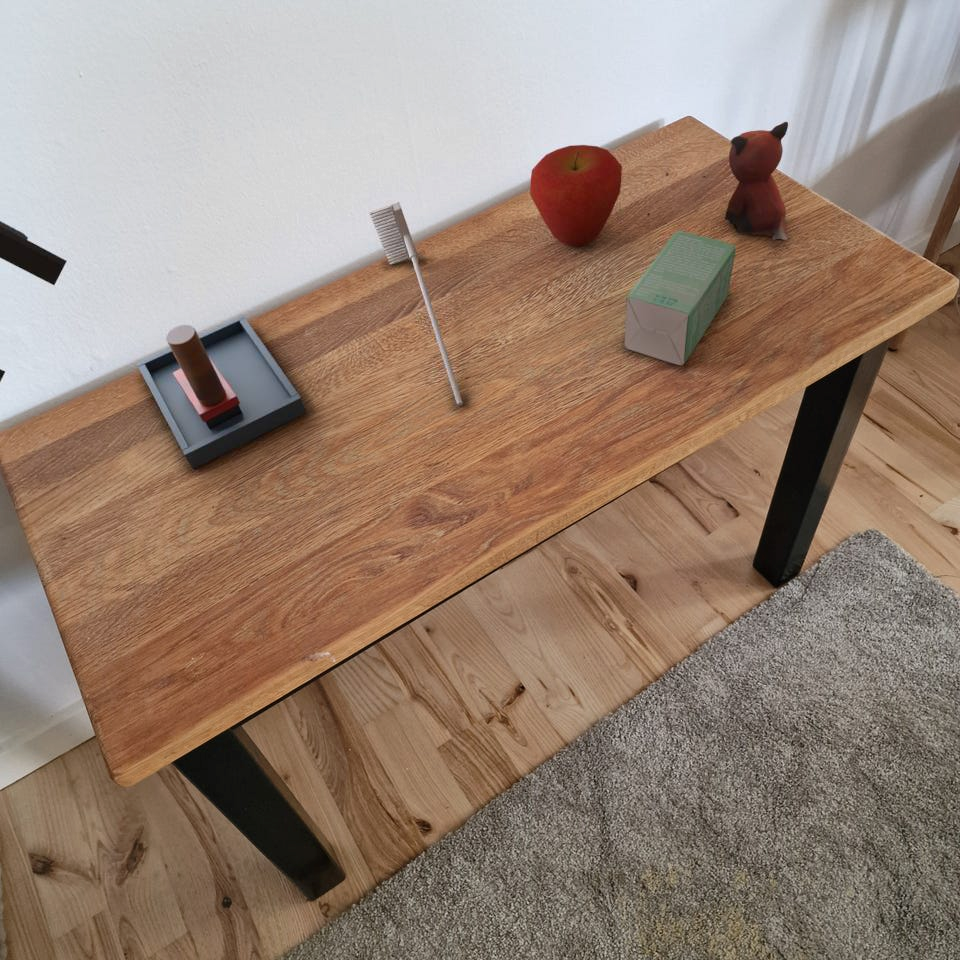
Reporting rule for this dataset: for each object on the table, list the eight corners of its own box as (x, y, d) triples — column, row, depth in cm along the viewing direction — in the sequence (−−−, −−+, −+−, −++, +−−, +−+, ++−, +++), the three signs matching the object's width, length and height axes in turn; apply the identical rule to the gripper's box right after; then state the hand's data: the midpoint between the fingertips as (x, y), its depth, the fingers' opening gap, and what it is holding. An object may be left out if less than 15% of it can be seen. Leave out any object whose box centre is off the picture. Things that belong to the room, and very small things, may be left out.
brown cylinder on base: (244, 413, 92) (206, 333, 83) (208, 431, 90) (165, 353, 81) (216, 372, 96) (177, 292, 87) (181, 389, 95) (138, 310, 86)
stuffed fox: (762, 261, 100) (780, 171, 90) (704, 217, 106) (715, 128, 97) (812, 238, 101) (834, 147, 92) (752, 196, 108) (767, 108, 99)
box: (730, 294, 97) (738, 240, 91) (684, 368, 90) (690, 315, 84) (671, 278, 100) (675, 225, 94) (622, 349, 93) (624, 296, 87)
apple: (602, 205, 110) (603, 119, 101) (632, 251, 104) (637, 162, 94) (523, 226, 109) (516, 140, 100) (548, 273, 103) (544, 186, 93)
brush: (440, 436, 94) (421, 391, 86) (389, 264, 107) (368, 211, 99) (472, 425, 94) (455, 379, 86) (417, 255, 107) (398, 201, 99)
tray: (306, 412, 92) (301, 397, 90) (192, 468, 88) (184, 455, 87) (248, 328, 102) (242, 314, 100) (144, 376, 98) (136, 362, 97)
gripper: (-194, 120, 68) (69, 260, 78) (-406, 323, 52) (-44, 464, 63) (-182, 48, 63) (96, 206, 73) (-411, 248, 48) (-19, 413, 58)
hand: (32, 325), depth 68 cm, fingers open, 13 cm apart
